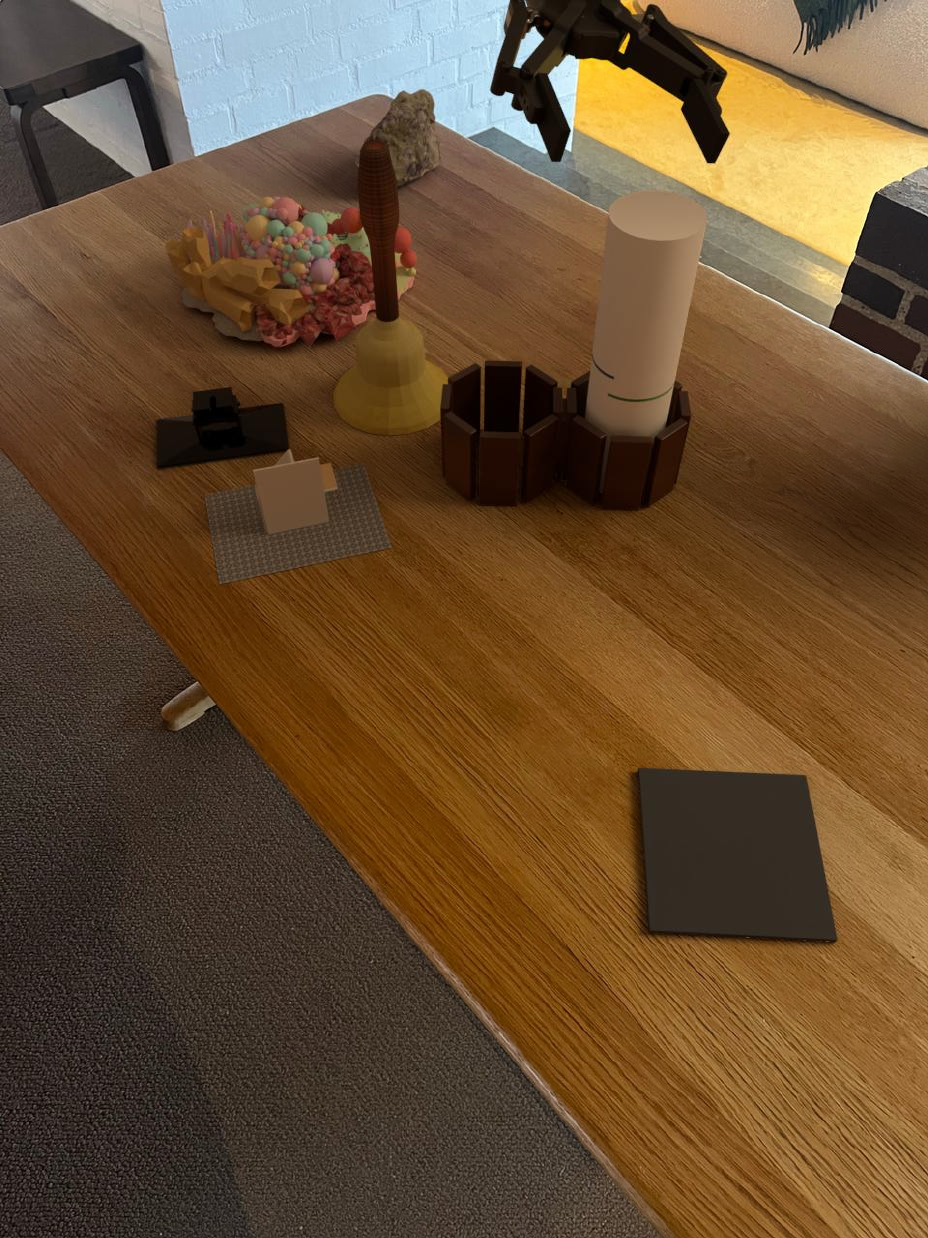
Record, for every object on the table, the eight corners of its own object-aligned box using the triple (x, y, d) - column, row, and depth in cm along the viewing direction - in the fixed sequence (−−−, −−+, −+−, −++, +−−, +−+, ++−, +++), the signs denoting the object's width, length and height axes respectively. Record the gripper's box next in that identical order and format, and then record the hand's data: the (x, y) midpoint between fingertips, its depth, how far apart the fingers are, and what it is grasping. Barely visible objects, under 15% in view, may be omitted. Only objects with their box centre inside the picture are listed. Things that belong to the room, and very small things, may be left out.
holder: (669, 434, 93) (684, 365, 86) (679, 512, 86) (695, 443, 80) (447, 427, 93) (445, 358, 87) (439, 503, 87) (437, 435, 81)
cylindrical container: (616, 434, 93) (654, 180, 73) (671, 472, 89) (727, 216, 70) (563, 466, 90) (588, 211, 70) (618, 507, 86) (660, 251, 67)
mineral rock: (364, 204, 120) (356, 121, 112) (337, 166, 126) (328, 85, 119) (459, 183, 123) (458, 102, 115) (428, 147, 129) (425, 67, 122)
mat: (804, 778, 69) (806, 774, 69) (835, 943, 62) (838, 940, 61) (637, 770, 70) (638, 767, 69) (648, 933, 62) (649, 930, 62)
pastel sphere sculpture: (312, 377, 98) (300, 297, 91) (143, 309, 106) (119, 230, 99) (442, 263, 112) (440, 185, 104) (283, 209, 119) (271, 134, 112)
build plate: (157, 470, 90) (143, 432, 86) (157, 421, 95) (144, 382, 91) (289, 450, 91) (281, 412, 88) (283, 403, 96) (275, 364, 92)
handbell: (456, 358, 100) (453, 110, 81) (452, 436, 93) (448, 183, 73) (339, 356, 101) (307, 109, 81) (325, 434, 93) (287, 182, 73)
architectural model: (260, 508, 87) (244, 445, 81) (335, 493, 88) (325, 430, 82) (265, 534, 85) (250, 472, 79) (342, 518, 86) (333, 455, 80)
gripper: (675, 28, 90) (757, 188, 81) (418, 14, 82) (479, 188, 74) (709, -58, 83) (802, 107, 75) (433, -81, 76) (502, 98, 67)
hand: (642, 147), depth 74 cm, fingers open, 13 cm apart
